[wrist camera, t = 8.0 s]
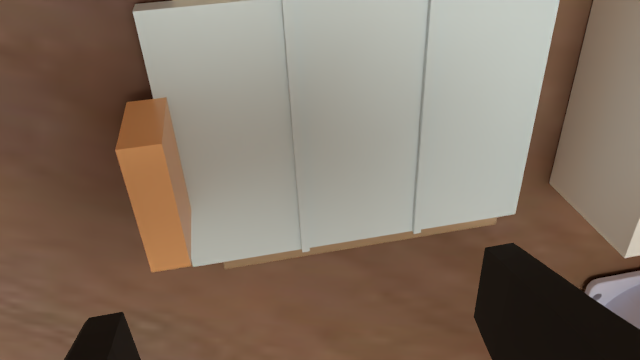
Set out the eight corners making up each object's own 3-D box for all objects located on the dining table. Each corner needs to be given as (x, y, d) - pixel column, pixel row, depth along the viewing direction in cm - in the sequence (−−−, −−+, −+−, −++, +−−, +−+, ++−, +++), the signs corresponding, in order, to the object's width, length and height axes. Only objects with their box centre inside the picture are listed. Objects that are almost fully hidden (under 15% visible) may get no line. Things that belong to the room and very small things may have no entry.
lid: (551, -36, 18) (629, -6, 14) (505, 203, 23) (555, 261, 20) (107, 6, 16) (85, 50, 12) (172, 256, 21) (169, 330, 18)
